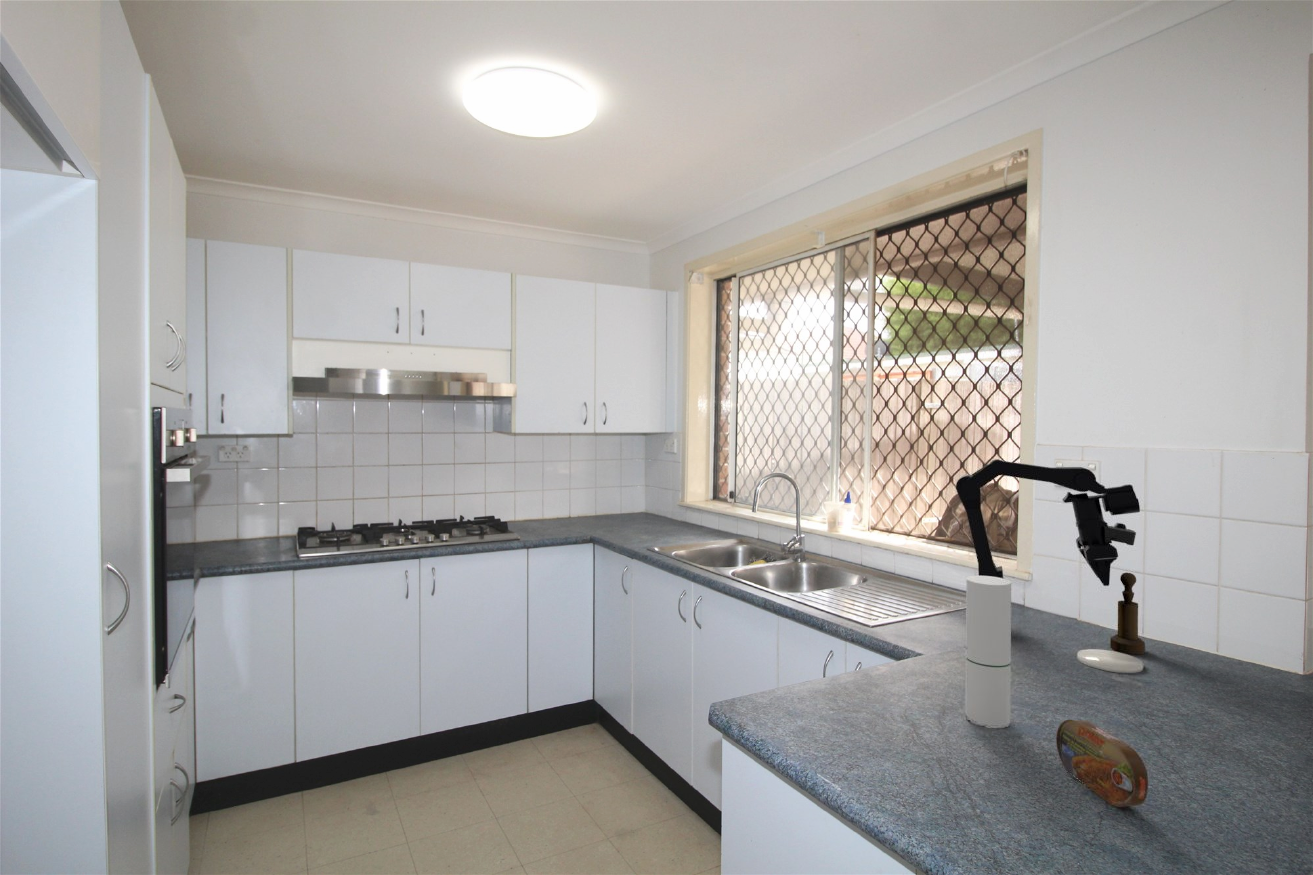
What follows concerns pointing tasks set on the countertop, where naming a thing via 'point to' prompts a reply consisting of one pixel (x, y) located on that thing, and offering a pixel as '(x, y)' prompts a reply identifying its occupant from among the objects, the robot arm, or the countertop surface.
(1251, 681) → the countertop surface
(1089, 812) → the countertop surface
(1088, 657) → the cream plate
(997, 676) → the cylindrical container
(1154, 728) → the countertop surface
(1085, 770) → the tin
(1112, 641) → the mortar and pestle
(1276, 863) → the countertop surface
